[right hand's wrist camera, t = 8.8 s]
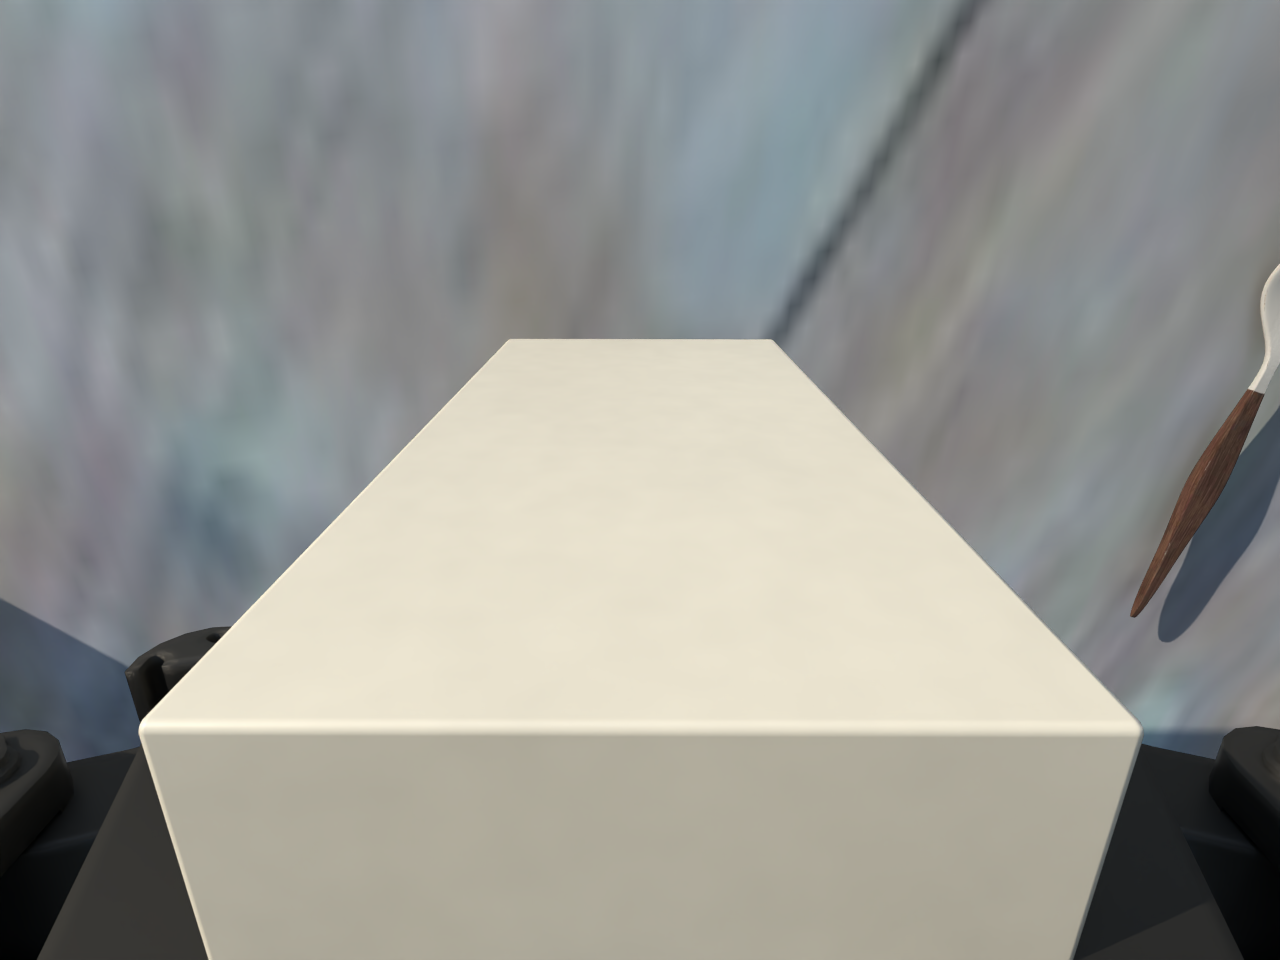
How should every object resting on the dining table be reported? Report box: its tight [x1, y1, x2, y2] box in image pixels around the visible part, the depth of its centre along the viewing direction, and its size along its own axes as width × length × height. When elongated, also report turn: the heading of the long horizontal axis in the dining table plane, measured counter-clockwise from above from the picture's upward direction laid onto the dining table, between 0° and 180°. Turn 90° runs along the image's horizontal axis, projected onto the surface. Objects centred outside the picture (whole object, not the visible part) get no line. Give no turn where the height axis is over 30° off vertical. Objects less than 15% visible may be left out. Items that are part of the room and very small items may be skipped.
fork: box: [1130, 264, 1280, 617], centre depth 24 cm, size 3×16×2 cm, turn 167°
